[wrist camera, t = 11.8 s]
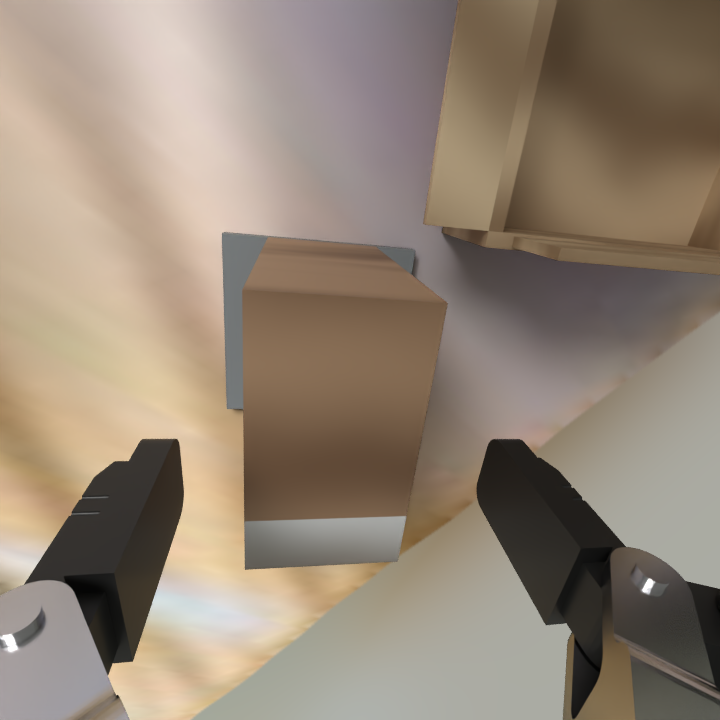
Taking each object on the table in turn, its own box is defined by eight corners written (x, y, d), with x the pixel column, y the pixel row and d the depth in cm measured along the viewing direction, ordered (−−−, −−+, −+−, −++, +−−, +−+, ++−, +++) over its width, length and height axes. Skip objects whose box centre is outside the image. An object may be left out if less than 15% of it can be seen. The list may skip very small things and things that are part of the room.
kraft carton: (442, -156, 14) (591, -496, 7) (852, -42, 18) (1234, -196, 11) (393, 227, 20) (451, 254, 12) (719, 259, 23) (915, 295, 16)
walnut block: (268, 236, 18) (242, 289, 9) (375, 246, 19) (447, 303, 10) (265, 408, 22) (244, 569, 13) (356, 410, 23) (397, 561, 14)
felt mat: (224, 232, 18) (222, 233, 18) (412, 248, 20) (415, 250, 20) (228, 403, 22) (226, 408, 21) (388, 406, 24) (390, 411, 23)
